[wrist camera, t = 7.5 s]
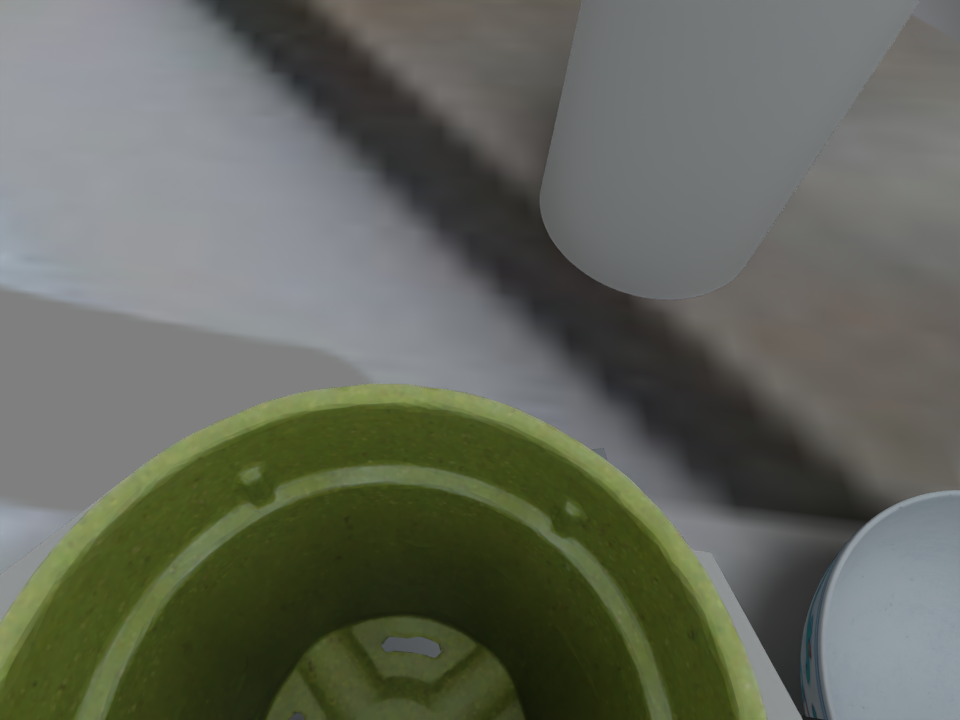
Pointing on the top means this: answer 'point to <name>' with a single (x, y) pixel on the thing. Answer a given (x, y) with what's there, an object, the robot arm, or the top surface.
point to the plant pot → (374, 579)
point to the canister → (698, 129)
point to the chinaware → (889, 619)
